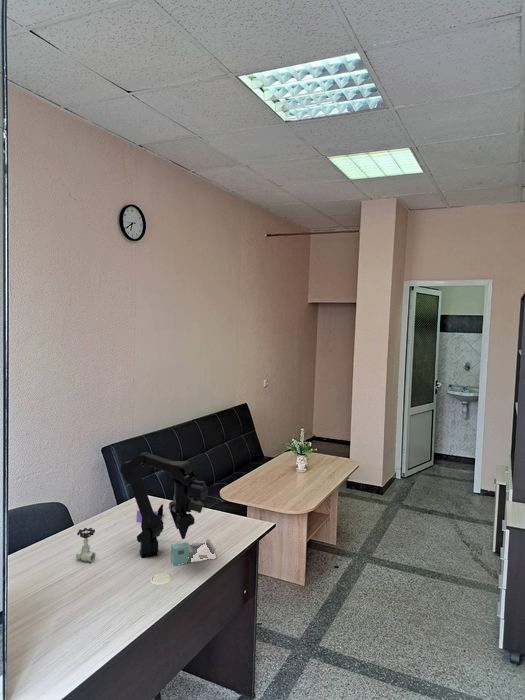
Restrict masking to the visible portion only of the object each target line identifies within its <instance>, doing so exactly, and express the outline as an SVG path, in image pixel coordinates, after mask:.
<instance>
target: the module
mask: <svg viewBox="0 0 525 700" xmlns="http://www.w3.org/2000/svg"><path fill="white" fill-rule="evenodd" d="M170 547H171V550H170V552H171V553H170V561H171V565H172V564H173V565H176V566H179V565H178V564H182V563H187V562H188V563H189V559H188V555H189V546H188V545H187V543H186V542H181V543H174V544H171V546H170ZM173 565H172V566H173Z"/></svg>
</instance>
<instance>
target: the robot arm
mask: <svg viewBox="0 0 525 700" xmlns="http://www.w3.org/2000/svg"><path fill="white" fill-rule="evenodd" d="M145 465H146V466H148V467H151V468H154V469H157V470H160V471H164V472H166V473H167V474H169V476H170V477H171V478H172V479H171V480H170V481H169V483H170V484H174V495H173V496H172V498H173V500H172V501H170V502H169V503H168V509H169V513H170V515H171V517H172V521H173V523H174V526H175V528H176V530H178V531H179V535H180V538H181V539H182V540H185V539H186V536H187V533H188V530H189V527H191V526H192V525H194V524H195V517H194V515H193V514H192V511H194V512H197V513H199V514H201V513H202V510H203V508H204V503H203V502H202V501H205V500H206V498H207V496H208V494H209V488H208V485H207V484H206V481H204V480H198V477H197V474H196V472H195V471H194V469H193V466H192V464H191V463H190V462H189V461H182V460H170V459H167V458H164V457H161V456H158V455H155V454H152V453H151V452H148V451H146V452H142V453H140V454H139V455H137V456H136V457H135V458H133V459H131V460H128V461H125V462H123V463H122V464H121V466H120V468H119V470H120V474H121V475H122V477H123V480H125V481H126V482H127V483H128V484H129V485H130V487H131V491H132V494H133V497H134V499H135V502H136V504H137V508H138V510H140V513H141V516H142V522H140V523H141V525H140V528H141V532H140V533H139V534H137V536H136V540H137V542H138V543H139V544H140V545H139V546H140V547H139V550H138V552H139V555H140V558H141V559H143V558H144V559H145V558H151V557H157V556H158V553H159V540H158V537H160V536H161V533H163V530H164V524H165V523H164V521H163V519H162V517H161V515H158V516H157V515H156V514H155V513H154V512H153V511H154V509H153V507H152V504H151V501H150V499H149V495H148V493H147V489H146V488H145V485H144V482H143V473H144V471H143V467H144V466H145ZM187 477H188V478H187ZM200 500H201V501H200Z"/></svg>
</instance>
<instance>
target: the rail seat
mask: <svg viewBox="0 0 525 700" xmlns="http://www.w3.org/2000/svg"><path fill="white" fill-rule="evenodd" d="M185 543H187V545H188V546H189V555H188V557H189V559H190V561H191V558H193V555H195V554H196V553H197V549H198V548H199V547H200V546H201V545H203V544H205V543H206V545H207V547H208V548H209V550H210V552H211V553H212V554H214V553H215V554H216V547H215V546H214V544H213V543H212V541H211V540H210V539H208V538H207V539H206V542H202V543H200V542H195V543H192V544H190V543H189V542H186V541H185ZM199 557H200V559H203V558H208V557H207V555H199ZM189 559H188V560H189ZM190 561H189V562H190Z"/></svg>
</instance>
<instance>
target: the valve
mask: <svg viewBox="0 0 525 700" xmlns="http://www.w3.org/2000/svg"><path fill="white" fill-rule="evenodd" d="M76 533H77V536H79V537H80V538H83V539H84V540H83V545H82V547H81V549H78V550H77V551H76V554H75V559H77V560H81V562H92V563H93V562H94V561H95V559H96V556H97V555H96V552H93V551H90V550H91V546H90V545H89V538H91V537H92V536H94V534H95V533H96V529H94V528H92V527H89V528H87V527H84V528H83V529H79V530H78V531H77V532H76Z"/></svg>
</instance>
